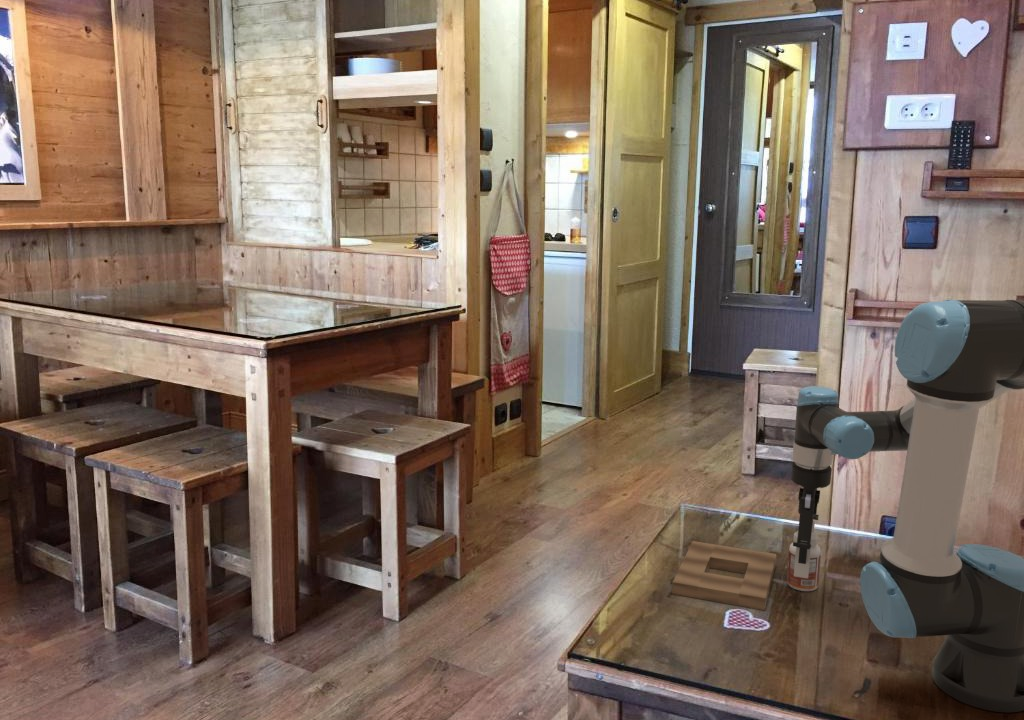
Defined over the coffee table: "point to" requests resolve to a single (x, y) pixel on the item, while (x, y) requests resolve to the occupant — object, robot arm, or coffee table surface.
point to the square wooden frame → (724, 588)
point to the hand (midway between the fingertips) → (803, 562)
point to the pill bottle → (814, 566)
